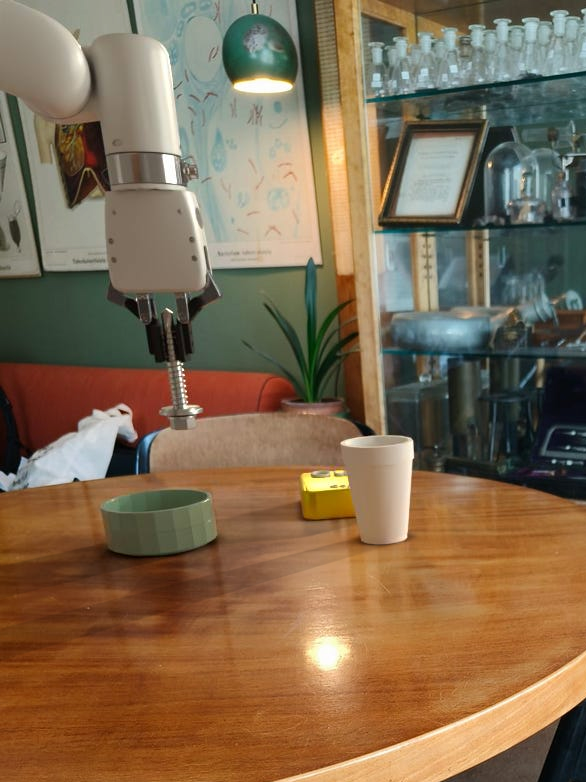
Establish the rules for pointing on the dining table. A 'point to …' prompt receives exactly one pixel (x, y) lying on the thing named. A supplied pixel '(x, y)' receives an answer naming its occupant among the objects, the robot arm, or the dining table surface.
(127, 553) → the bowl
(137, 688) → the dining table surface
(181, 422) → the screw
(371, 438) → the foam cup
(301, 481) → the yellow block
